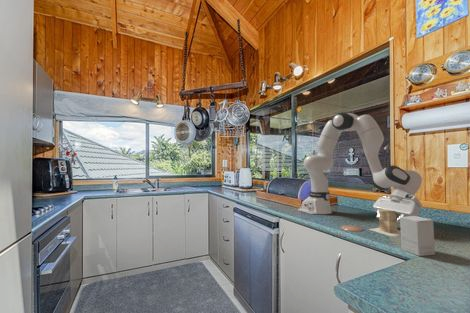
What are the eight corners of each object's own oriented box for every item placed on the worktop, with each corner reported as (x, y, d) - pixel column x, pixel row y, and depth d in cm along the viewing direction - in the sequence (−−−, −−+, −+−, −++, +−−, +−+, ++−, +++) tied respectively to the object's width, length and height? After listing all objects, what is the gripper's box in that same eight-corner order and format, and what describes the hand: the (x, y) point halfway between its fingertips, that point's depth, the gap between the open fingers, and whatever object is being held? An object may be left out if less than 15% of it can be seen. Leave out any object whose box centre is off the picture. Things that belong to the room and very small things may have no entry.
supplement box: (436, 254, 84) (434, 219, 84) (418, 256, 82) (417, 221, 83) (416, 247, 91) (415, 215, 91) (400, 249, 90) (399, 216, 90)
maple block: (379, 230, 113) (378, 209, 113) (387, 229, 115) (386, 209, 115) (389, 233, 108) (388, 211, 109) (397, 231, 110) (396, 210, 110)
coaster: (337, 228, 118) (337, 227, 118) (347, 225, 124) (347, 224, 124) (357, 233, 110) (357, 232, 110) (367, 229, 116) (367, 228, 116)
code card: (368, 229, 115) (368, 229, 115) (385, 226, 119) (385, 226, 119) (391, 236, 104) (391, 236, 104) (409, 233, 108) (409, 233, 108)
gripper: (377, 192, 124) (364, 211, 121) (419, 197, 105) (405, 220, 101) (384, 199, 125) (371, 219, 122) (426, 206, 106) (412, 229, 103)
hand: (387, 220), depth 111 cm, fingers open, 8 cm apart
